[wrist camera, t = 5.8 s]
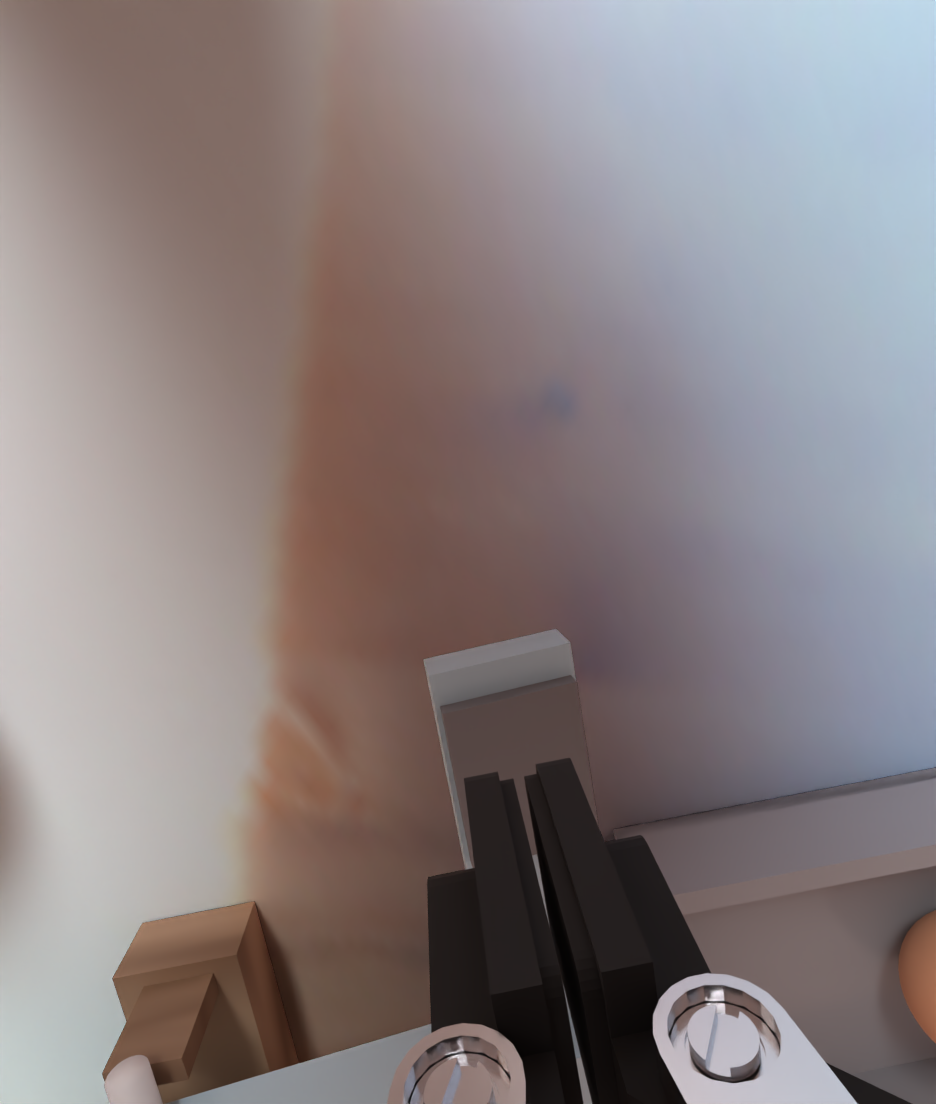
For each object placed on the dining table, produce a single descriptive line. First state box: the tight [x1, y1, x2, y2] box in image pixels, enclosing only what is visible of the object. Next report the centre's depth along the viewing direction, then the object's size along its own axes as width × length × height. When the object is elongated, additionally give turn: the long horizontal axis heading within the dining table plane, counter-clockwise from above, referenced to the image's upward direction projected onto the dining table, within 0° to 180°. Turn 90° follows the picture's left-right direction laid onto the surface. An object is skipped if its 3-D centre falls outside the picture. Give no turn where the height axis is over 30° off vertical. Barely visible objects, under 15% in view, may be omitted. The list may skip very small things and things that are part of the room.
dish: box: [613, 768, 936, 1104], centre depth 20 cm, size 10×12×4 cm
